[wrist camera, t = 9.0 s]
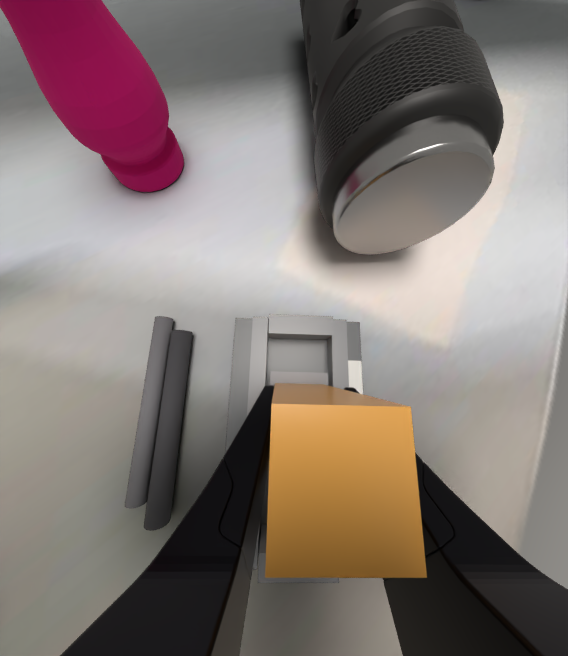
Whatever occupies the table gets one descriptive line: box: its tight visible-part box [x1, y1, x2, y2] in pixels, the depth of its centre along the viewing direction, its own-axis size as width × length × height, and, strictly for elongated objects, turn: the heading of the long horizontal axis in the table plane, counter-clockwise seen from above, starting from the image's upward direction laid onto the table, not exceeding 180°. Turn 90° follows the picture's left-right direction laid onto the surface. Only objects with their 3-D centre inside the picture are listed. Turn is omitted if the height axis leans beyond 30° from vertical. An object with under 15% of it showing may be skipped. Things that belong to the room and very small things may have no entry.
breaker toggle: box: [265, 371, 427, 578], centre depth 9 cm, size 4×4×10 cm
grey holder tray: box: [225, 314, 363, 583], centre depth 13 cm, size 14×9×4 cm, turn 178°
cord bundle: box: [125, 316, 192, 531], centre depth 14 cm, size 13×3×1 cm, turn 178°
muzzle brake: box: [300, 0, 504, 255], centre depth 16 cm, size 10×28×10 cm, turn 3°
